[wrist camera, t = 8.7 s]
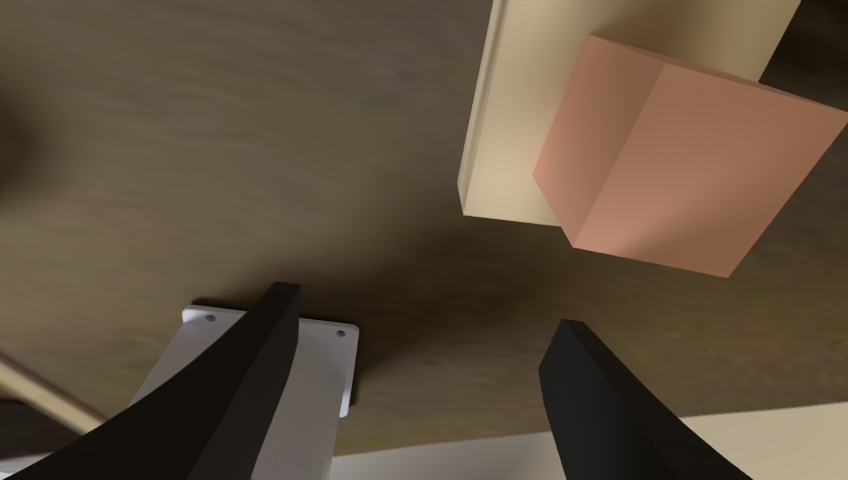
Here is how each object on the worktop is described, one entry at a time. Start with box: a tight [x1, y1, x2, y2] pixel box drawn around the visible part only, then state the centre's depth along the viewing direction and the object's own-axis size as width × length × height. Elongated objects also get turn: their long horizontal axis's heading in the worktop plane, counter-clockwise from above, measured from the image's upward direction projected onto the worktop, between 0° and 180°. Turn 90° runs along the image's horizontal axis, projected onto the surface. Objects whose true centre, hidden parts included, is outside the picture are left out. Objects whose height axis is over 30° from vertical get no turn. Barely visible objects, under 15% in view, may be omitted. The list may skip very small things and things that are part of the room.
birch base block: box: [457, 0, 801, 227], centre depth 17 cm, size 9×9×4 cm
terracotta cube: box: [532, 34, 848, 278], centre depth 13 cm, size 5×5×5 cm
